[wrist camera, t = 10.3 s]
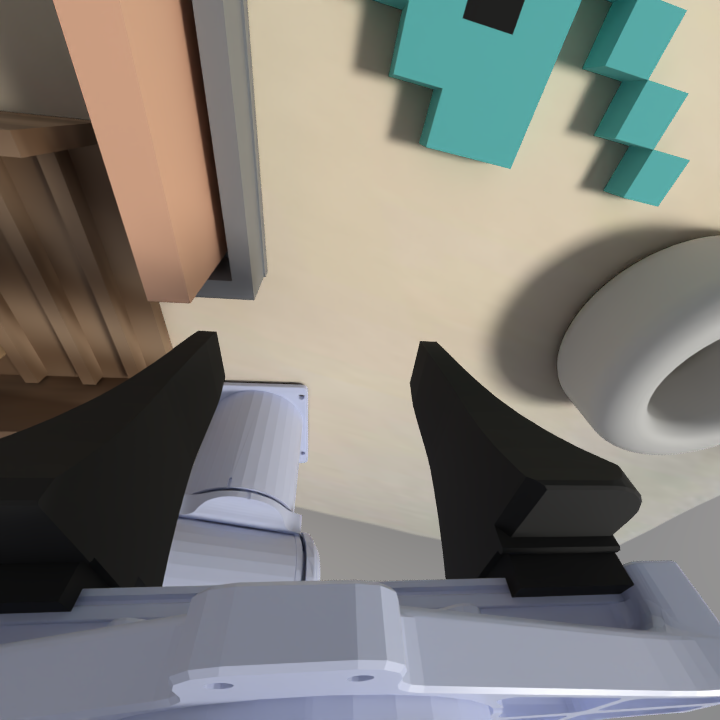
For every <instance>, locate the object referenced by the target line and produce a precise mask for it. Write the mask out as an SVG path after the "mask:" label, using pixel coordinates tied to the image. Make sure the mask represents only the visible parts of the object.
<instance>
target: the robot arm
mask: <svg viewBox="0 0 720 720" xmlns="http://www.w3.org/2000/svg"><path fill="white" fill-rule="evenodd" d="M224 381H225V373H224V368H223V362H222V357H221V352H220V347H219V342H218V337H217V332H211V331H197V332H196V333H194V334H193V335H191V336H190V337H188V338H187V339H186V340H184V341H183V342H182V343H180V344H179V345H178V346H176V347H175V348H173V349H172V350H171V351H169V352H168V353H167V354H165V355H164V356H162V357H161V358H160V359H158V360H157V361H155V362H154V363H152V364H151V365H149V366H148V367H146V368H145V369H143V370H142V371H140V372H139V373H137V374H136V375H134V376H132V377H131V378H129V379H128V380H126V381H125V382H123V383H121V384H120V385H118V386H116V387H114V388H113V389H111V390H109V391H107V392H105V393H103V394H101V395H100V396H98V397H96V398H94V399H92V400H90V401H88V402H86V403H84V404H82V405H79V406H77V407H75V408H73V409H71V410H69V411H67V412H64V413H62V414H60V415H58V416H56V417H54V418H51V419H49V420H46V421H44V422H42V423H39V424H37V425H34V426H32V427H29V428H27V429H24V430H21V431H19V432H16V433H14V434H11V435H8V436H5V437H3V438H0V720H601V719H611V718H621V717H632V716H643V715H655V714H668V713H680V712H689V711H693V710H697V709H701V708H706V707H710V706H714V705H718V704H720V622H719V621H718V619H717V618H716V617H715V615H714V614H713V612H712V611H711V610H710V608H709V607H708V606H707V604H706V603H705V602H704V600H703V599H702V597H701V596H700V595H699V593H698V592H697V590H696V589H695V588H694V587H693V585H692V584H691V582H690V581H689V579H688V578H687V577H686V575H685V574H684V573H683V571H682V570H681V568H680V567H679V566H678V564H677V563H676V562H674V561H672V560H666V561H665V560H663V561H662V560H661V561H635V562H629V563H626V564H623V565H622V564H621V562H620V560H619V559H618V557H617V555H616V554H615V552H618V551H619V550H620V546H619V544H618V543H617V541H616V539H615V538H614V536H613V534H614V533H615V532H616V531H617V530H619V529H620V528H621V527H622V526H623V525H624V524H626V523H627V522H628V521H629V520H630V519H631V518H632V517H633V516H634V515H635V514H636V513H637V512H638V510H639V508H640V505H641V502H642V499H641V495H640V493H639V492H638V491H637V489H636V488H635V487H634V486H633V484H632V483H631V482H630V480H629V479H628V478H627V476H626V475H625V474H624V472H623V471H622V470H621V468H620V467H619V466H618V465H616V464H614V463H612V462H609V461H607V460H605V459H603V458H600V457H598V456H596V455H594V454H591V453H589V452H587V451H585V450H583V449H580V448H578V447H576V446H574V445H572V444H571V443H569V442H567V441H565V440H563V439H561V438H559V437H557V436H555V435H553V434H552V433H550V432H548V431H546V430H545V429H543V428H541V427H540V426H538V425H536V424H535V423H533V422H531V421H530V420H528V419H527V418H525V417H523V416H522V415H520V414H519V413H517V412H516V411H515V410H513V409H512V408H510V407H509V406H508V405H506V404H505V403H503V402H502V401H501V400H499V399H498V398H497V397H495V396H494V395H493V394H492V393H491V392H489V391H488V390H487V389H486V388H485V387H483V386H482V385H481V384H480V383H479V382H478V381H477V380H475V379H474V378H473V377H472V376H471V375H470V374H469V373H468V372H467V371H466V370H465V369H464V368H463V367H462V366H461V365H459V364H458V363H457V362H456V361H455V360H454V359H453V358H452V357H451V356H450V355H449V354H448V353H447V352H446V351H445V350H444V349H443V348H442V347H441V346H440V345H439V344H438V343H437V342H427V341H420V344H419V348H418V352H417V356H416V360H415V365H414V369H413V373H412V377H411V381H410V387H411V395H412V402H413V407H414V411H415V415H416V418H417V422H418V425H419V429H420V432H421V436H422V439H423V443H424V446H425V450H426V453H427V457H428V461H429V465H430V469H431V475H432V481H433V486H434V492H435V499H436V505H437V512H438V518H439V526H440V533H441V541H442V549H443V558H444V567H445V577H446V579H444V580H443V579H441V580H402V581H365V580H324V581H323V580H320V559H319V553H318V550H317V548H316V545H315V544H314V541H313V539H312V537H311V535H310V534H308V533H304V532H301V521H302V515H301V514H297V513H294V508H295V498H296V488H297V478H298V468H299V463H305V462H307V461H308V388H307V387H306V386H305V385H296V384H262V383H228V382H224ZM300 395H304V396H300ZM200 446H201V447H200ZM198 451H199V452H198ZM197 453H198V454H197ZM196 456H197V457H196ZM194 461H195V462H194Z"/></svg>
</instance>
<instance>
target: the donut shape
mask: <svg viewBox="0 0 720 720" xmlns="http://www.w3.org/2000/svg"><path fill="white" fill-rule="evenodd" d="M557 372H558V378H559V381H560V384H561V386H562V389H563V390H564V392H565V393H566V395H567V396H568V397H569V399H570V400H571V401H572V402H573V404H574V405H575V406H576V408H577V409H578V410H579V411H580V413H581V414H582V415H583V416H584V418H585V419H586V420H587V421H588V423H589V424H590V425H591V426H592V428H593V429H594V430H595V431H596V432H597V433H598V434H599V435H600V436H601V437H602V438H604V439H605V440H606V441H608V442H609V443H611V444H613V445H615V446H617V447H619V448H622V449H624V450H628V451H631V452H635V453H641V454H649V455H672V454H682V453H689V452H694V451H699V450H703V449H707V448H711V447H715V446H718V445H720V235H717V236H709V237H703V238H698V239H693V240H689V241H686V242H682V243H679V244H676V245H673V246H670V247H668V248H665V249H663V250H661V251H658V252H656V253H654V254H652V255H650V256H648V257H646V258H644V259H642V260H640V261H639V262H637V263H635V264H633V265H632V266H630V267H629V268H627V269H626V270H624V271H623V272H621V273H620V274H618V275H617V276H616V277H614V278H613V279H612V280H610V281H609V282H608V283H607V284H606V285H604V286H603V287H602V288H601V289H600V290H599V291H598V292H597V293H596V294H595V295H594V296H593V297H592V298H591V299H590V300H589V301H588V302H587V303H586V304H585V305H584V306H583V308H582V309H581V310H580V311H579V313H578V314H577V315H576V317H575V318H574V320H573V321H572V323H571V324H570V326H569V328H568V330H567V331H566V334H565V336H564V338H563V340H562V343H561V346H560V349H559V354H558V360H557Z"/></svg>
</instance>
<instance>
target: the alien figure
mask: <svg viewBox="0 0 720 720" xmlns="http://www.w3.org/2000/svg"><path fill="white" fill-rule="evenodd" d="M373 1H376V2H379V3H382V4H385V5H389V6H392V7H395V8H398V9H401V10H402V13H401V18H400V23H399V28H398V33H397V37H396V42H395V47H394V52H393V57H392V62H391V67H390V72H389V77H392V78H396V79H399V80H403V81H406V82H410V83H413V84H417V85H420V86H424V87H427V88H431V89H433V93H432V97H431V101H430V104H429V108H428V112H427V115H426V119H425V123H424V127H423V130H422V134H421V138H420V141H419V144H421V145H423V146H425V147H427V148H431V149H435V150H439V151H443V152H447V153H451V154H455V155H459V156H462V157H466V158H470V159H474V160H478V161H482V162H486V163H490V164H494V165H498V166H502V167H505V168H509V169H511V166H512V164H513V162H514V159H515V157H516V154H517V152H518V150H519V147H520V145H521V143H522V140H523V138H524V136H525V133H526V131H527V128H528V126H529V124H530V121H531V119H532V117H533V114H534V112H535V109H536V107H537V105H538V102H539V100H540V98H541V95H542V93H543V91H544V88H545V86H546V83H547V81H548V79H549V76H550V74H551V72H552V69H553V67H554V64H555V62H556V60H557V57H558V55H559V53H560V50H561V48H562V46H563V43H564V41H565V38H566V36H567V34H568V31H569V29H570V27H571V24H572V22H573V19H574V17H575V15H576V12H577V10H578V8H579V5H580V3H581V1H582V0H373ZM606 1H609V2H612V5H611V7H610V9H609V11H608V14H607V16H606V18H605V20H604V22H603V25H602V27H601V29H600V31H599V33H598V35H597V38H596V40H595V42H594V44H593V46H592V48H591V51H590V53H589V55H588V57H587V59H586V61H585V64H584V66H583V68H582V69H584V70H587V71H591V72H594V73H597V74H600V75H603V76H606V77H609V78H612V79H615V80H618V81H621V84H620V86H619V88H618V90H617V92H616V94H615V96H614V98H613V100H612V101H611V103H610V105H609V107H608V109H607V111H606V113H605V115H604V117H603V119H602V121H601V123H600V124H599V126H598V128H597V130H596V132H595V134H594V136H597V137H600V138H604V139H607V140H611V141H614V142H617V143H621V144H624V145H628V146H629V148H628V149H627V151H626V153H625V154H624V156H623V158H622V160H621V161H620V163H619V165H618V166H617V168H616V170H615V172H614V173H613V175H612V177H611V178H610V180H609V182H608V183H607V185H606V187H605V189H604V190H603V191H605V192H608V193H611V194H614V195H617V196H620V197H623V198H626V199H630V200H634V201H638V202H642V203H646V204H650V205H654V206H659V204H660V203H661V201H662V200H663V198H664V197H665V196H666V194H667V193H668V191H669V190H670V188H671V187H672V185H673V184H674V183H675V181H676V180H677V178H678V177H679V175H680V174H681V172H682V171H683V170H684V168H685V167H686V165H687V164H688V162H689V161H690V160H687V159H684V158H680V157H677V156H673V155H670V154H666V153H663V152H660V151H656V150H654V148H655V146H656V145H657V143H658V142H659V140H660V138H661V137H662V135H663V134H664V132H665V130H666V129H667V127H668V126H669V124H670V122H671V121H672V119H673V118H674V116H675V114H676V113H677V111H678V110H679V108H680V106H681V105H682V103H683V102H684V100H685V98H686V97H687V95H688V93H685V92H682V91H679V90H676V89H673V88H670V87H667V86H664V85H661V84H658V83H655V82H652V81H649V80H648V79H649V77H650V76H651V74H652V72H653V70H654V68H655V67H656V65H657V63H658V61H659V59H660V58H661V56H662V54H663V52H664V51H665V49H666V47H667V45H668V43H669V42H670V40H671V38H672V36H673V34H674V33H675V31H676V29H677V27H678V25H679V24H680V22H681V20H682V18H683V17H684V15H685V13H686V11H687V10H685V9H682V8H679V7H677V6H674V5H672V4H669V3H666V2H664V1H661V0H606Z"/></svg>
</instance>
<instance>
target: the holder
mask: <svg viewBox="0 0 720 720" xmlns="http://www.w3.org/2000/svg"><path fill="white" fill-rule="evenodd" d="M192 4H193V11H194V18H195V25H196V32H197V39H198V46H199V53H200V60H201V67H202V74H203V81H204V88H205V95H206V102H207V109H208V116H209V123H210V130H211V137H212V144H213V151H214V158H215V165H216V172H217V178H218V185H219V192H220V199H221V206H222V213H223V220H224V227H225V234H226V241H227V248H228V251H227V253H226V254H225V255H224V257H223V258H222V260H221V261H220V262H219V264H218V265H217V267H216V268H215V269H214V271H213V272H212V274H211V275H210V276H209V278H208V279H207V281H206V282H205V283H204V285H203V286H202V288H201V289H200V290H199V292H198V293H197V295H196V296H195V297H205V298H224V299H242V300H255V297H256V295H257V292H258V290H259V287H260V285H261V282H262V280H263V277H266V274H267V259H266V246H265V232H264V219H263V206H262V192H261V179H260V166H259V153H258V139H257V126H256V113H255V100H254V86H253V73H252V60H251V46H250V33H249V20H248V7H247V0H192Z"/></svg>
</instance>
